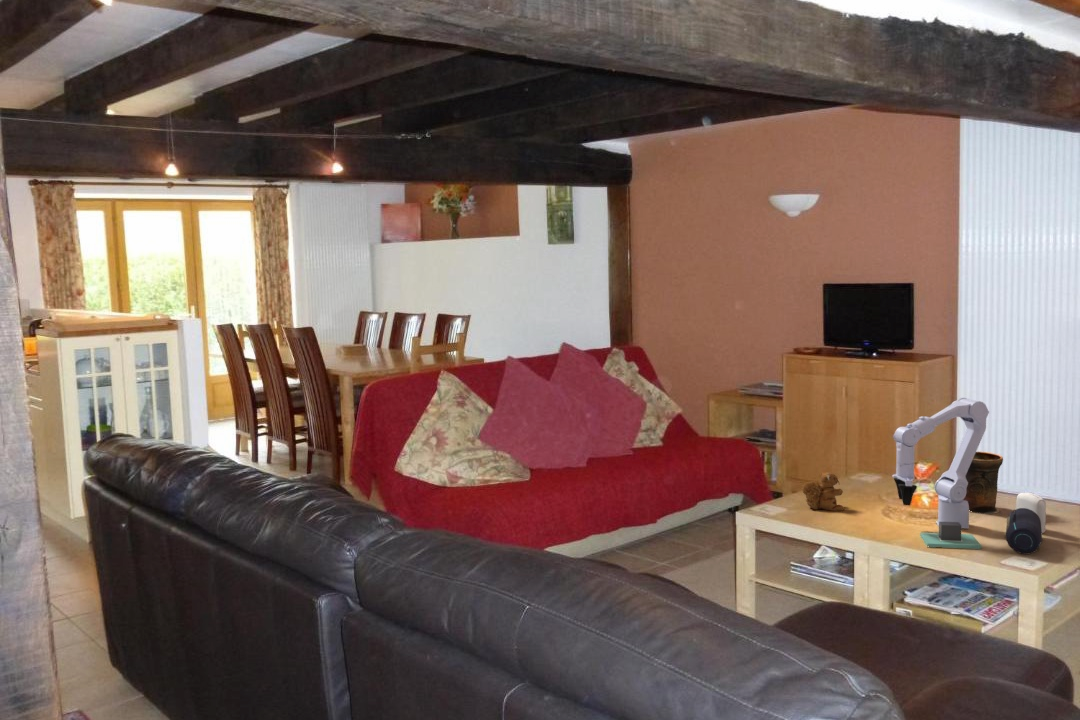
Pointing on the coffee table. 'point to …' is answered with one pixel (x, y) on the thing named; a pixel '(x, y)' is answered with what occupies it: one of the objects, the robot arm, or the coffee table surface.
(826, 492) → the stuffed squirrel
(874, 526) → the coffee table surface
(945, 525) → the plug housing
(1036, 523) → the portable speaker
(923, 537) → the header board
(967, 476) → the vessel
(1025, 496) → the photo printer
